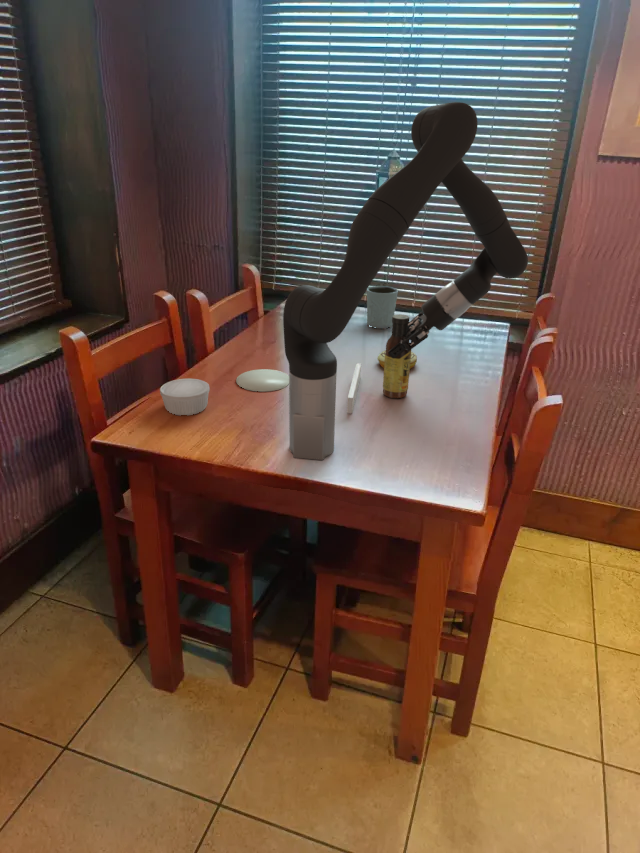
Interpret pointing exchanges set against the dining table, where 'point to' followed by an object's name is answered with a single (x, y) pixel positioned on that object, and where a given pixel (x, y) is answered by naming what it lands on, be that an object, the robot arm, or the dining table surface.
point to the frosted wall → (354, 388)
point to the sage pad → (263, 380)
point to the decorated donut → (382, 359)
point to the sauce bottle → (397, 361)
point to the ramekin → (185, 396)
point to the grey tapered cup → (381, 306)
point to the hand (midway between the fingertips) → (391, 350)
